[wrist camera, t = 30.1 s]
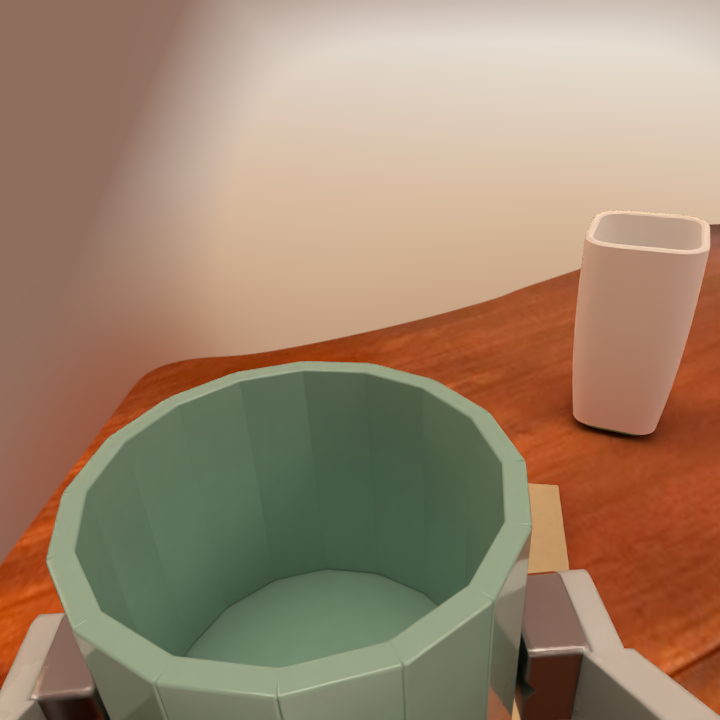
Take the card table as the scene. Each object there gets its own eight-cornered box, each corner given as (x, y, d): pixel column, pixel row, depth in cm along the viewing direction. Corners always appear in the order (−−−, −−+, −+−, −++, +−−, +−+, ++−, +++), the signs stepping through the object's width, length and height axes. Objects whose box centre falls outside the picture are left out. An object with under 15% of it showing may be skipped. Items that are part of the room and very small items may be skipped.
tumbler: (126, 976, 11) (-74, 656, 7) (242, 651, 17) (172, 355, 12) (500, 1053, 10) (553, 733, 6) (492, 678, 16) (516, 367, 11)
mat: (85, 701, 32) (82, 696, 31) (216, 465, 47) (216, 460, 46) (595, 776, 27) (596, 771, 27) (557, 489, 42) (558, 485, 42)
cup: (663, 454, 45) (710, 254, 37) (557, 431, 48) (581, 242, 40) (668, 399, 51) (710, 216, 43) (573, 382, 53) (597, 208, 46)
